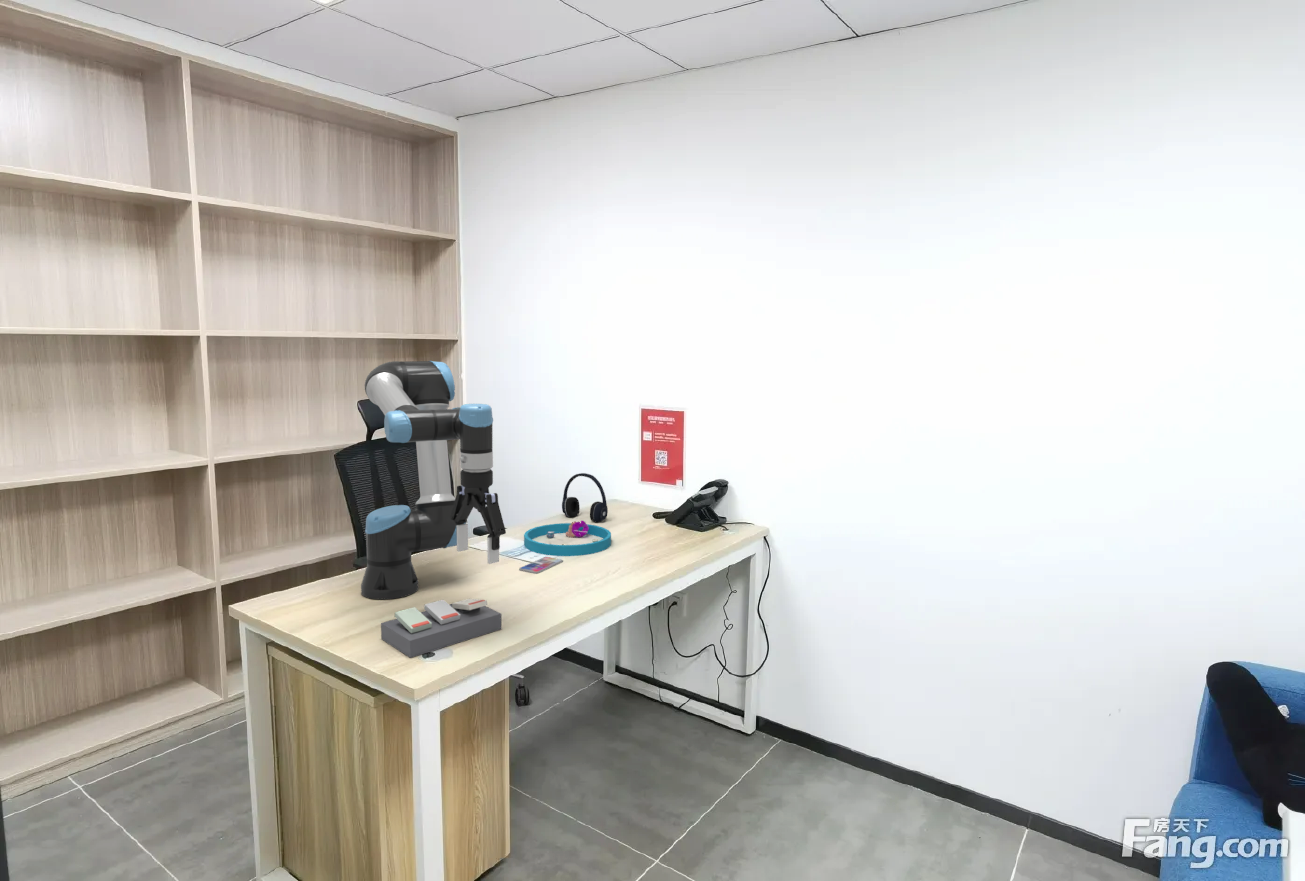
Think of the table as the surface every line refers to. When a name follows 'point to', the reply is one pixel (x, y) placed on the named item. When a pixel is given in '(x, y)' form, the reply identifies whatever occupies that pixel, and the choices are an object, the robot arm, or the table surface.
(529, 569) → the smartphone
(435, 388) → the robot arm
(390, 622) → the rocker switch panel
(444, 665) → the table surface
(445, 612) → the grey rocker
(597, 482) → the headphones
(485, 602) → the cream rocker
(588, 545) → the teal round tray
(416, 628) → the sage rocker
